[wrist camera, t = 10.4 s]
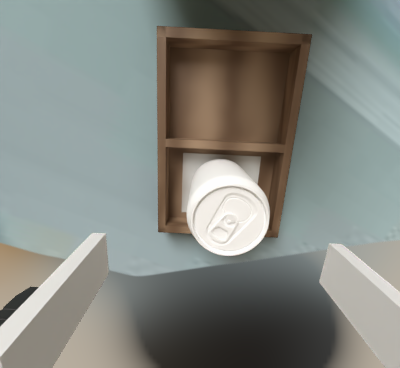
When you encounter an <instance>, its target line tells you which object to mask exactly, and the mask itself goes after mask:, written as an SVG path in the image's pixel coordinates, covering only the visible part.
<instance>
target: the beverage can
mask: <svg viewBox="0 0 400 368" xmlns="http://www.w3.org/2000/svg"><path fill="white" fill-rule="evenodd" d="M269 218H270V208H269V203H268V200H267V197H266V195H265V194H264V192H263V191H262V189H261V188H260V187H259V186H258V185H257V184H256V183H255V182H254V181H253V180H252V179H251V178H250V177H249V176H248V174H247V173H246V172H245V171H244V170H243V169H242V168H241V167H240V166H239V165H238V164H236V163H235V162H233V161H230V160H227V159H213V160H210V161H208V162H206V163H204V164H203V165H201V166H200V167H199V168H198V169H197V171H196V172H195V174H194V176H193V179H192V183H191V189H190V194H189V200H188V206H187V223H188V226H189V229H190V231H191V233H192V235H193V236H194V237H195V239H196V240H197V241H198V242H199V244H200V245H201V246H203V247H204V248H205V249H207V250H208V251H210V252H212V253H215V254H218V255H223V256H235V255H240V254H243V253H246V252H248V251H250V250H251V249H253V248H254V247H256V246H257V245H258V244H259V243H260V242H261V240H262V239H263V238H264V236H265V234H266V232H267V229H268V226H269Z"/></svg>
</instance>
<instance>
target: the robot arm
mask: <svg viewBox="0 0 400 368" xmlns="http://www.w3.org/2000/svg"><path fill="white" fill-rule="evenodd" d="M108 274H109V268H108V255H107V243H106V233H92V234H91V235H90V236H89V237H88V238H87V239H86V240H85V241H84V242H83V243H82V244H81V245H80V246H79V247H78V248H77V249H76V250H75V251H74V252H73V253H72V254H71V255H70V256H69V257H68V258H67V259H66V260H65V261H64V262H63V263H62V264H61V265H60V267H58V268H57V269H56V270H55V271H54V272H53V273H52V274H51V275H50V277H49V278H48V279H47V280H46V281H45V282H44V283H43V284H42V285H41V286H40V287H30V288H28V289H26V290H25V291H23V292H22V293H20V294H18V295H17V296H15V297H14V298H13V299H12V300H11V301H10V302H9V303H8V304H7V305H6V306H5V307H4V308H3V310H0V368H52V367H53V366H54V364H55V362H56V361H57V359H58V357H59V356H60V354H61V352H62V351H63V349H64V347H65V346H66V344H67V342H68V341H69V339H70V337H71V336H72V334H73V332H74V331H75V329H76V327H77V326H78V324H79V322H80V321H81V319H82V317H83V316H84V314H85V312H86V311H87V309H88V307H89V306H90V304H91V302H92V301H93V299H94V298H95V296H96V294H97V293H98V291H99V289H100V287H101V286H102V284H103V283H104V281H105V279H106V277H107V276H108ZM319 282H320V284H321V285H322V286H323V287H324V289H325V290H326V292H327V293H328V294H329V295H330V297H331V298H332V299H333V301H334V302H335V303H336V304H337V306H338V307H339V308H340V310H341V311H342V312H343V313H344V315H345V316H346V317H347V319H348V320H349V321H350V323H351V324H352V325H353V327H354V328H355V329H356V330H357V332H358V333H359V334H360V336H361V337H362V338H363V339H364V341H365V342H366V343H367V345H368V346H369V347H370V349H371V350H372V351H373V352H374V354H375V355H376V356H377V358H378V359H379V360H380V362H381V363H382V364H383V365H384V367H385V368H400V292H399V291H398V290H397V289H396V288H394V287H393V286H392V285H390V284H389V283H388V282H387V281H386V280H385V279H383V278H382V277H381V276H380V275H379V274H377V273H376V272H375V271H374V270H372V269H371V268H370V267H369V266H368V265H366V264H365V263H364V262H363V261H362V260H360V259H359V258H358V257H357V256H356V255H354V254H353V253H352V252H351V251H350V250H348V249H347V248H346V247H345V246H344V245H342V244H329V246H328V250H327V254H326V258H325V262H324V266H323V269H322V273H321V277H320V281H319Z"/></svg>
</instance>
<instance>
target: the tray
mask: <svg viewBox="0 0 400 368" xmlns="http://www.w3.org/2000/svg"><path fill="white" fill-rule="evenodd" d="M311 38H312V34H295V33H277V32H258V31H240V30H222V29H203V28H185V27H167V26H157V120H158V232H168V233H190V234H192V233H191V231H190V229H189V226H188V223H187V206H188V200H189V194H190V189H191V183H192V179H193V176H194V174H195V172H196V171H197V169H198V168H199V167H200V166H201V165H203V164H204V163H206V162H208V161H210V160H213V159H227V160H230V161H233V162H235V163H236V164H238V165H239V166H240V167H241V168H242V169H243V170H244V171H245V172H246V173H247V174H248V176H249V177H250V178H251V179H252V180H253V181H254V182H255V183H256V184H257V185H258V186H259V187H260V188H261V189H262V191H263V192H264V194H265V195H266V197H267V200H268V203H269V208H270V218H269V226H268V229H267V232H266V234H265V236H264V237H276V238H278V232H279V226H280V221H281V215H282V209H283V203H284V197H285V191H286V185H287V179H288V173H289V168H290V162H291V156H292V150H293V144H294V138H295V132H296V126H297V120H298V115H299V109H300V103H301V97H302V91H303V85H304V79H305V73H306V67H307V61H308V56H309V50H310V44H311Z"/></svg>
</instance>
